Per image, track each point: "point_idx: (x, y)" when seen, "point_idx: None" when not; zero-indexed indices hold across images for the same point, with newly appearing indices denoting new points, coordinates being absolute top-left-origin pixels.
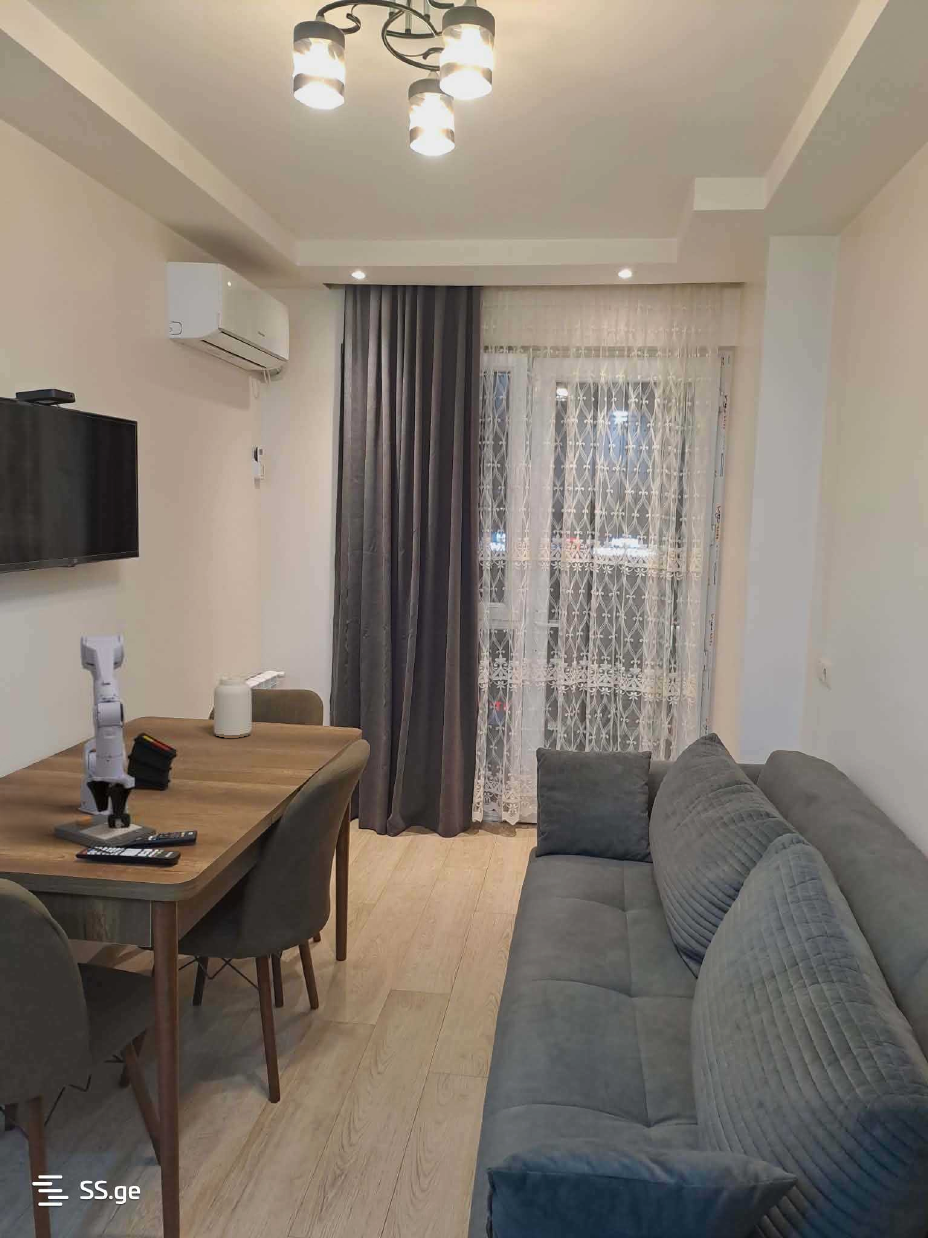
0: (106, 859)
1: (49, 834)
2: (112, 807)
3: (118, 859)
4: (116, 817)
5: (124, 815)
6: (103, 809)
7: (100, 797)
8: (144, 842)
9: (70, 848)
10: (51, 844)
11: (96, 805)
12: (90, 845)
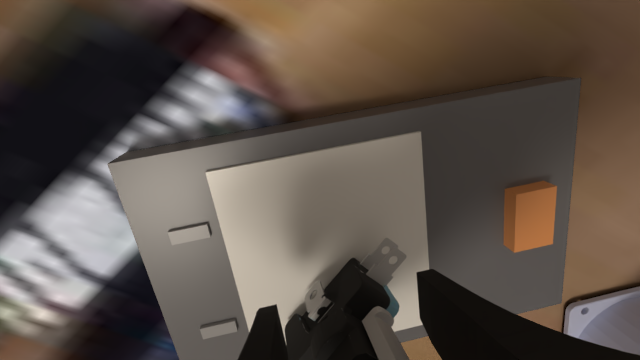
0: (57, 99)
1: (578, 68)
2: (270, 343)
3: (19, 142)
4: (331, 317)
5: (310, 356)
6: (423, 302)
7: (476, 352)
8: None
9: (339, 46)
10: (459, 6)
11: (455, 286)
12: (285, 124)
